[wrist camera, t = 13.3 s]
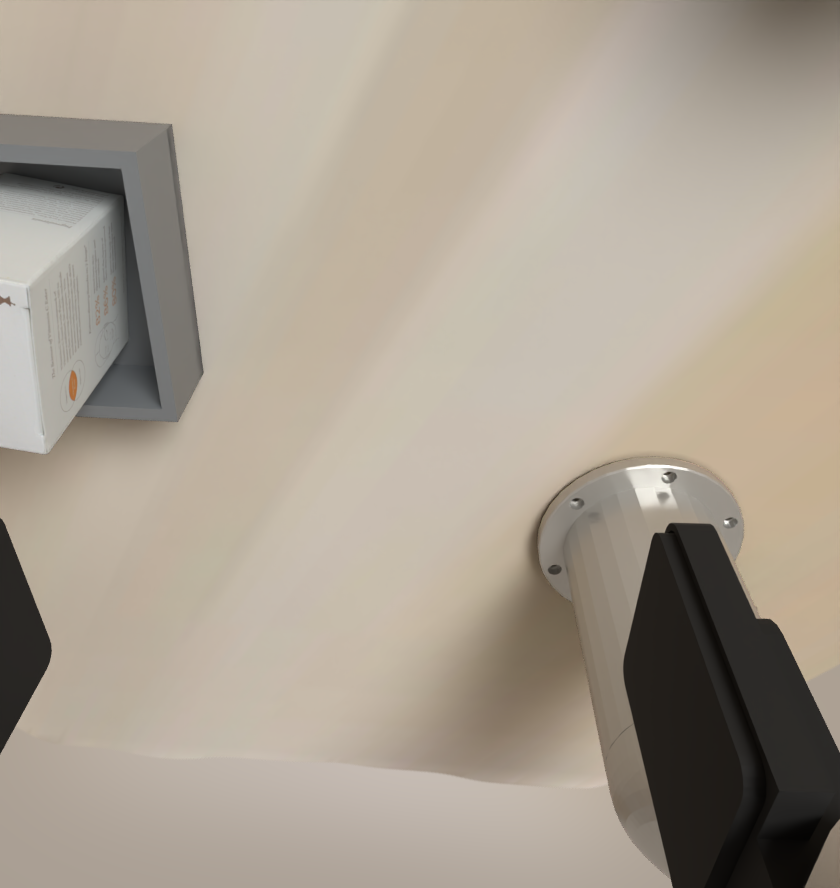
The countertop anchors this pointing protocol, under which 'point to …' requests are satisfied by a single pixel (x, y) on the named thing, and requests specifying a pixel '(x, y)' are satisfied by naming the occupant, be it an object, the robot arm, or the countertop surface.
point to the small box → (56, 304)
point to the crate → (127, 250)
